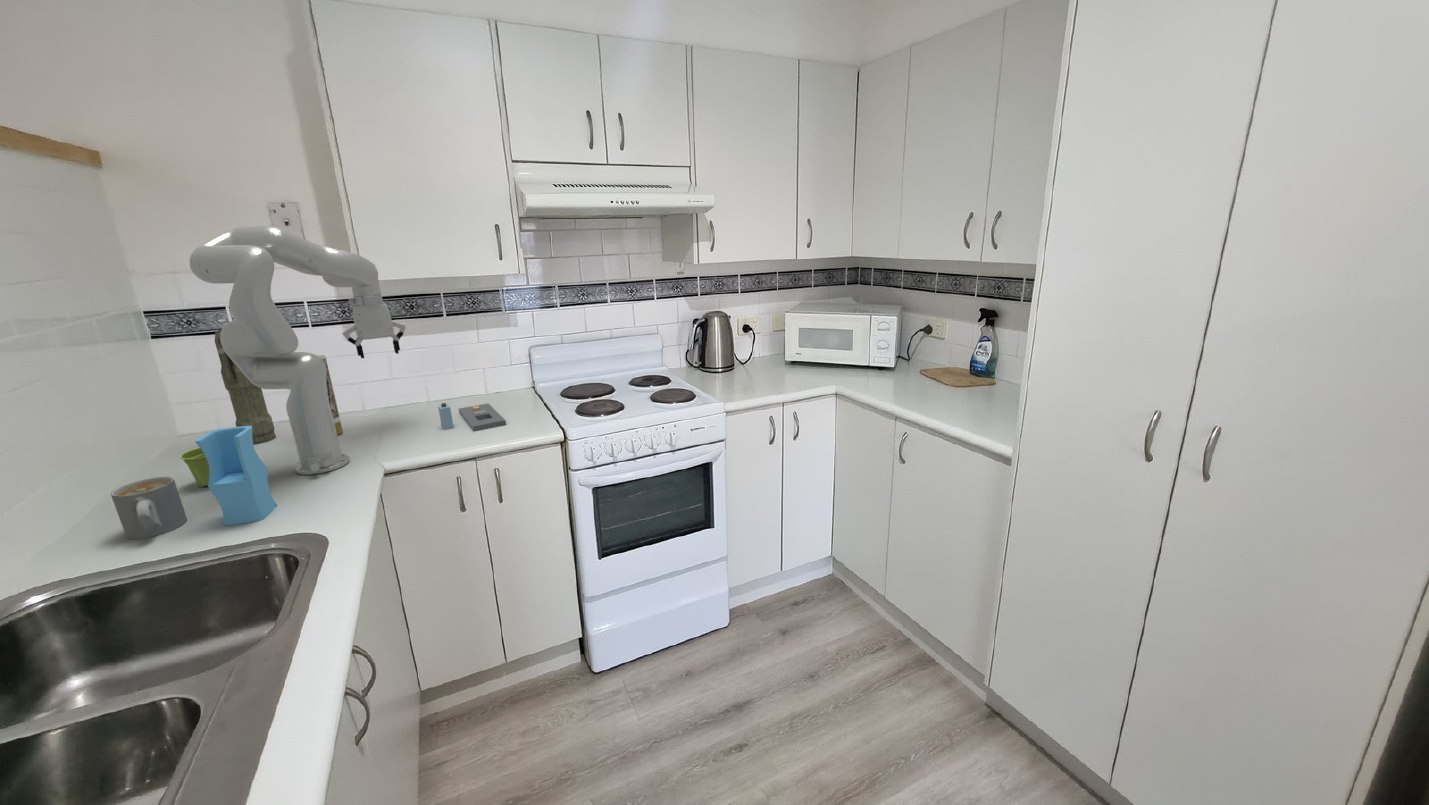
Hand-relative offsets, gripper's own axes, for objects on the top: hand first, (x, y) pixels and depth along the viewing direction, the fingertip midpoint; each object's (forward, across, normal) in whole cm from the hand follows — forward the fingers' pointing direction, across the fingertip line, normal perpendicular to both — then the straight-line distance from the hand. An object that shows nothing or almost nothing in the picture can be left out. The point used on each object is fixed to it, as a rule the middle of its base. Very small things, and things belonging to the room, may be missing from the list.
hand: (379, 355), depth 185 cm
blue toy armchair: (+24, -36, -51) cm, 67 cm away
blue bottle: (+24, +14, -14) cm, 31 cm away
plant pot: (+24, -45, -20) cm, 55 cm away
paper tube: (+24, -18, +4) cm, 30 cm away
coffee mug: (+24, -53, -46) cm, 74 cm away
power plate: (+24, +25, -13) cm, 36 cm away
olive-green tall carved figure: (+24, -36, +14) cm, 45 cm away
